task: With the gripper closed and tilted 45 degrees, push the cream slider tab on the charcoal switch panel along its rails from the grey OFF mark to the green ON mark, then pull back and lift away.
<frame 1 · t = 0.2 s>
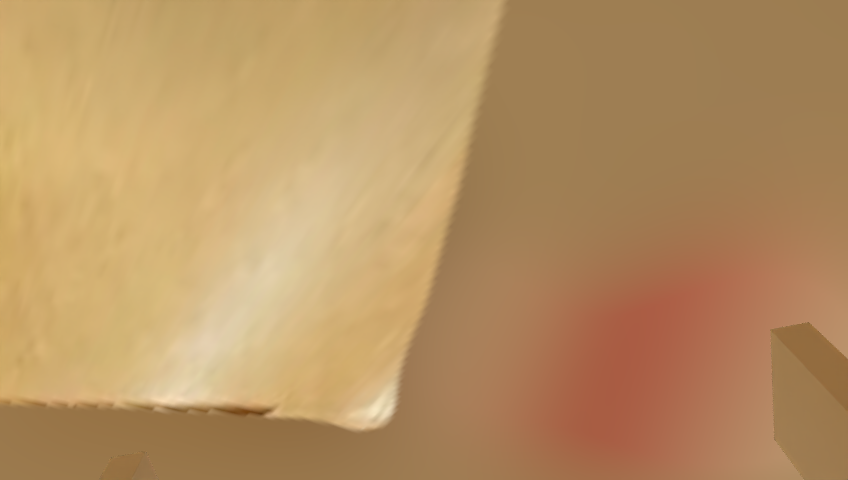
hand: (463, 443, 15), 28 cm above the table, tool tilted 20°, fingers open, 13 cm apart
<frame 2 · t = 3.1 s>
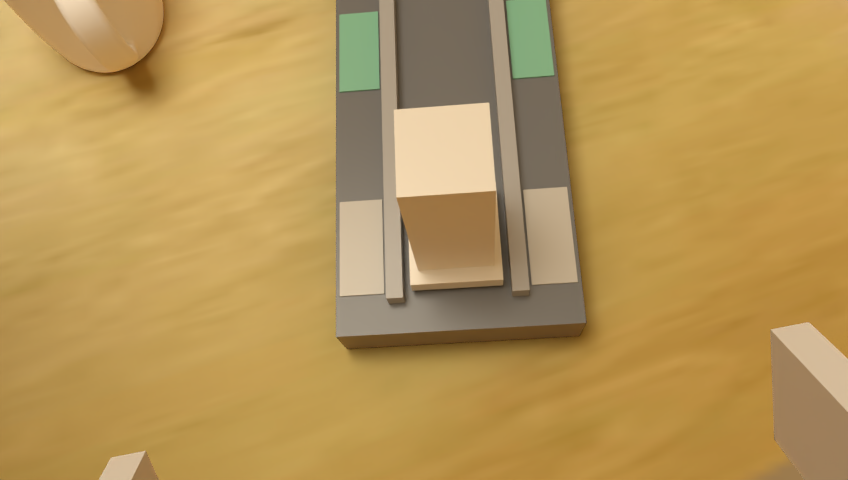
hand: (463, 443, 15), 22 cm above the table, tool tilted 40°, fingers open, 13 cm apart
switch panel: (450, 135, 42), on the table
slider tab: (449, 200, 32), point 8 cm above the table, slide at 0.0 cm
mug: (112, 27, 47), on the table
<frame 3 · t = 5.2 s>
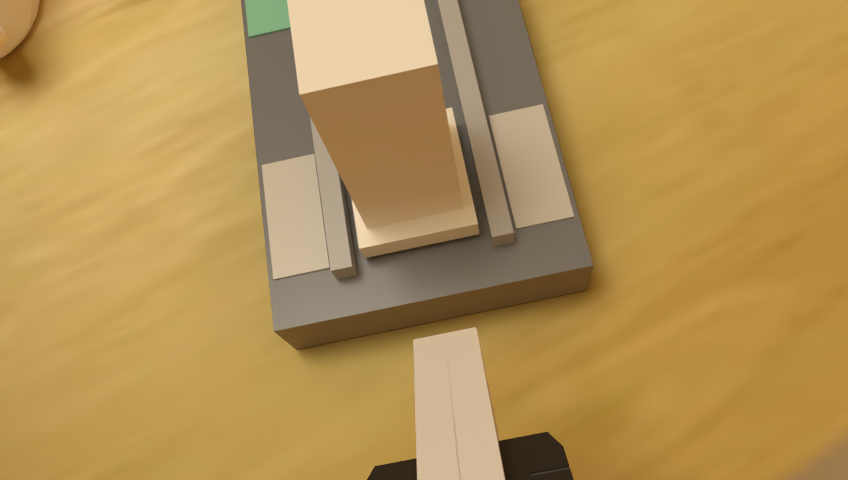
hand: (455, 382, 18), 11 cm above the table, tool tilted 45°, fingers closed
switch panel: (393, 76, 34), on the table
slider tab: (389, 120, 24), point 8 cm above the table, slide at 0.0 cm
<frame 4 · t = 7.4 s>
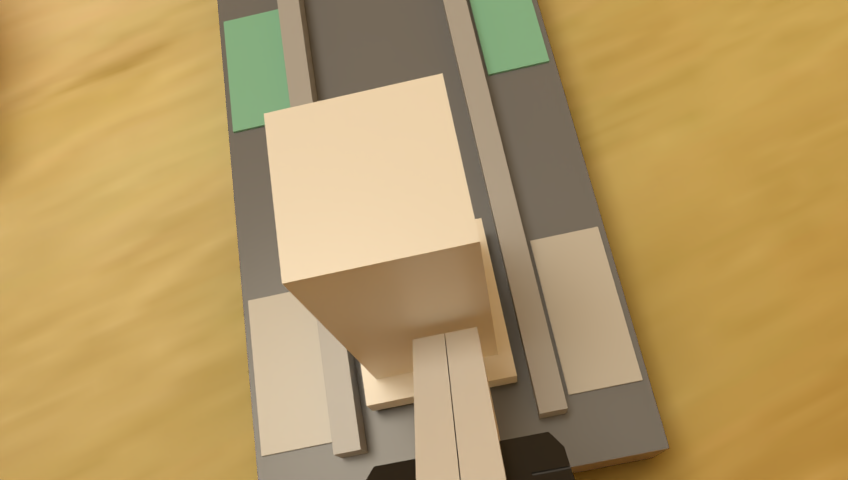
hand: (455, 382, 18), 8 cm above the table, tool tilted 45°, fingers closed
switch panel: (409, 172, 29), on the table
slider tab: (405, 263, 18), point 8 cm above the table, slide at 0.6 cm, touching gripper
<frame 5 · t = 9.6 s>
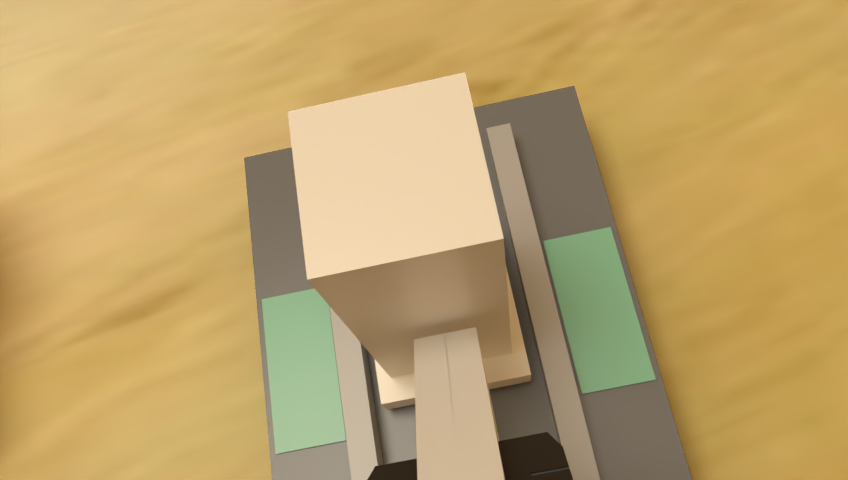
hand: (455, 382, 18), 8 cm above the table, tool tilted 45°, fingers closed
switch panel: (478, 476, 24), on the table
slider tab: (423, 262, 18), point 8 cm above the table, slide at 12.1 cm, touching gripper
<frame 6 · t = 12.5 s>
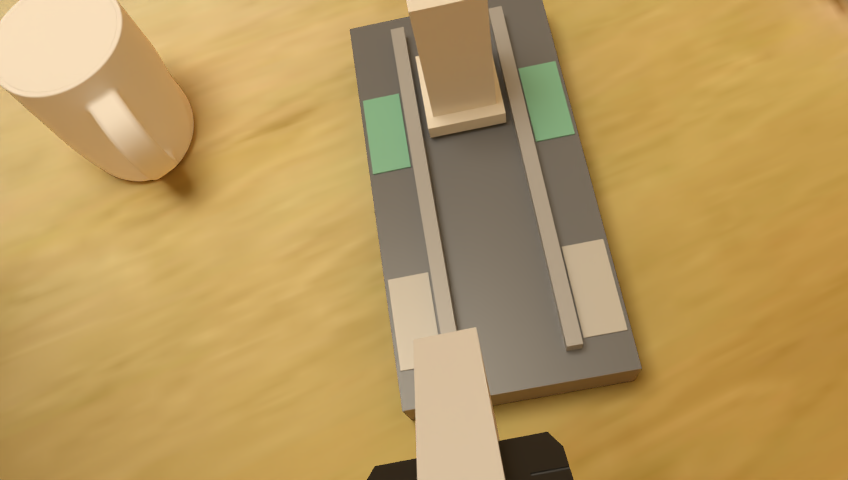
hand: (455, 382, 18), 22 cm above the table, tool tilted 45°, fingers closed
switch panel: (481, 200, 44), on the table
slider tab: (452, 40, 38), point 8 cm above the table, slide at 13.0 cm
mug: (146, 136, 49), on the table
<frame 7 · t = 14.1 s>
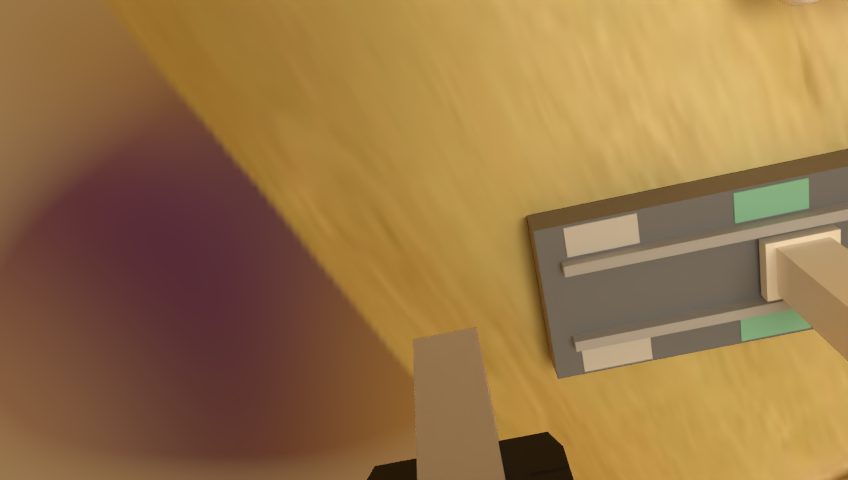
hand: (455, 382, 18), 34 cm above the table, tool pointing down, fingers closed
switch panel: (699, 257, 54), on the table
slider tab: (835, 292, 46), point 8 cm above the table, slide at 13.0 cm
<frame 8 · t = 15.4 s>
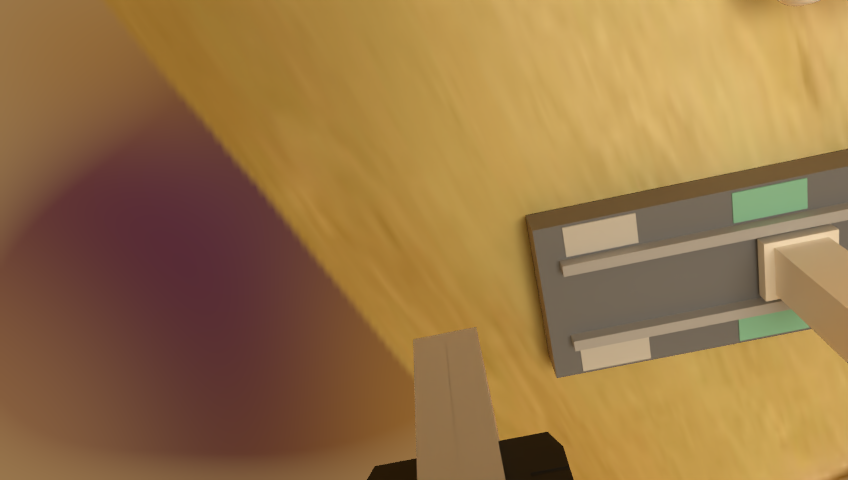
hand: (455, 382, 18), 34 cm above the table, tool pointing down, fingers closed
switch panel: (698, 256, 54), on the table
slider tab: (833, 292, 46), point 8 cm above the table, slide at 13.0 cm
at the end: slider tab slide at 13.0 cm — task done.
